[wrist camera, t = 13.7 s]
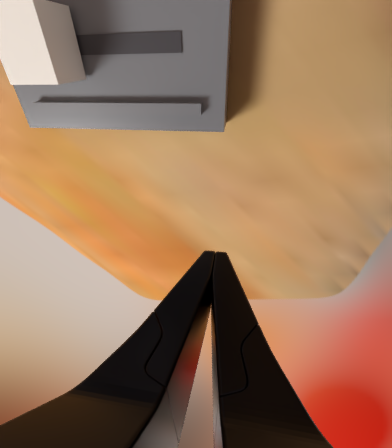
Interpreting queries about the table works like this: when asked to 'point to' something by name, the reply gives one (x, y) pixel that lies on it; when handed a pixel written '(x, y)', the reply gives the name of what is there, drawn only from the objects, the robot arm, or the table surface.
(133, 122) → the switch bank
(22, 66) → the tab
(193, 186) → the table surface
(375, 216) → the table surface
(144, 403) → the robot arm
